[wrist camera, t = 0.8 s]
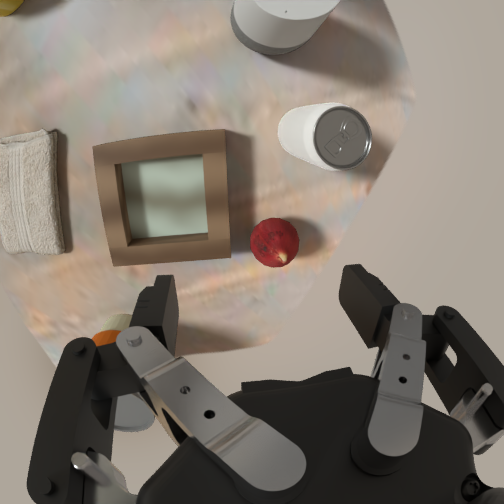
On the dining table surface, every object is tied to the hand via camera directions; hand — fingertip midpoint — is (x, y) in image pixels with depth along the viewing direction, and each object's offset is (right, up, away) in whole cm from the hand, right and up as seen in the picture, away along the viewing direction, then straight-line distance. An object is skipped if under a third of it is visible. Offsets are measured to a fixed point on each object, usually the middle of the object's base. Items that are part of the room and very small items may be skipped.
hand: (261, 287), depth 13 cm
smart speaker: (+1, +29, +13) cm, 32 cm away
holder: (-11, +9, +21) cm, 25 cm away
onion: (+2, +4, +25) cm, 25 cm away
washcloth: (-32, +10, +18) cm, 38 cm away
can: (+6, +16, +20) cm, 26 cm away
